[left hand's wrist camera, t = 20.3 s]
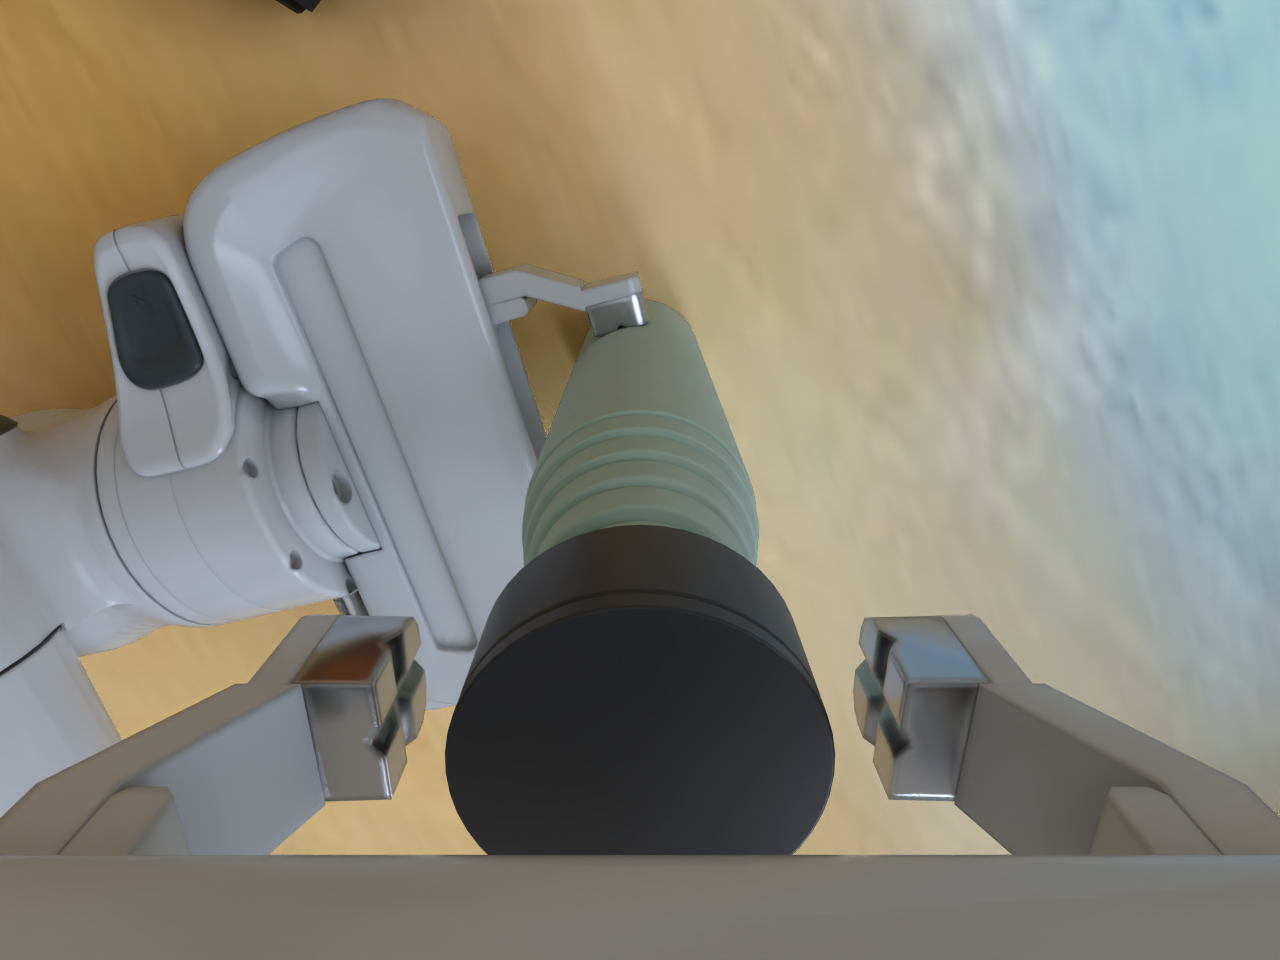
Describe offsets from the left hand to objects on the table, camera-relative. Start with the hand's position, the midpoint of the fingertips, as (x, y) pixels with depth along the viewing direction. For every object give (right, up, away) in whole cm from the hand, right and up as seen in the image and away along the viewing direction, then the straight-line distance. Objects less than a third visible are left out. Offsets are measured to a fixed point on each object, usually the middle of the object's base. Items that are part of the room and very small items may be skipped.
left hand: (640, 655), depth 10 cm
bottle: (0, +7, +19) cm, 20 cm away
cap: (0, -1, -2) cm, 2 cm away
